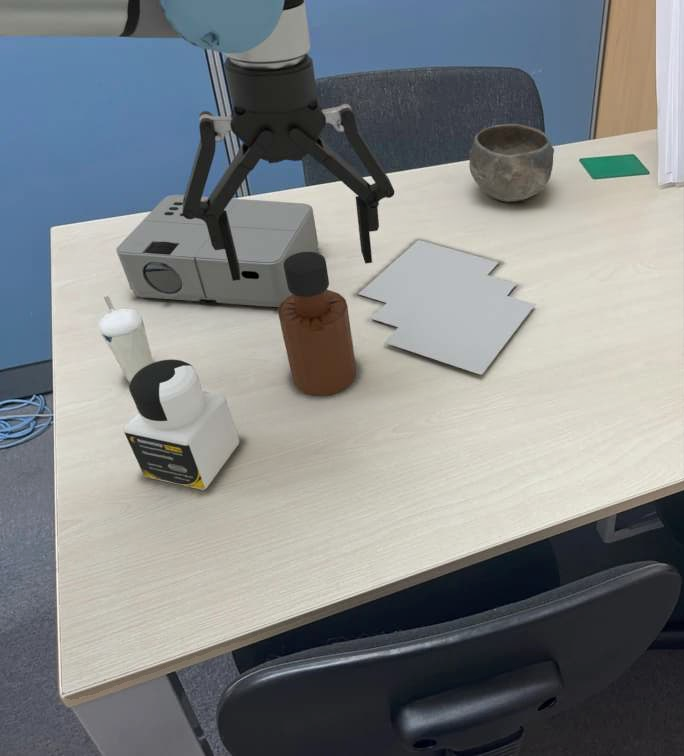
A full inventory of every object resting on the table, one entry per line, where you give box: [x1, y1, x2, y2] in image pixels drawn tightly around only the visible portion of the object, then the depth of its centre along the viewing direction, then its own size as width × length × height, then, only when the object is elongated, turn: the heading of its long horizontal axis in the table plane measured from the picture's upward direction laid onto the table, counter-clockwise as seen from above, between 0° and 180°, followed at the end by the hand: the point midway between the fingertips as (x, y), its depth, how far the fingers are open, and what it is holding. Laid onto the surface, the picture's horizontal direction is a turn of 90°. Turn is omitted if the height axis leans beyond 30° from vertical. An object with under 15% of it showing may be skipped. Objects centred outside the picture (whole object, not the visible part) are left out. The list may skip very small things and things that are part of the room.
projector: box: [116, 194, 319, 309], centre depth 100 cm, size 17×22×8 cm
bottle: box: [277, 289, 357, 397], centre depth 82 cm, size 8×8×13 cm
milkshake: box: [97, 294, 155, 384], centre depth 82 cm, size 4×5×10 cm
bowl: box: [468, 123, 555, 203], centre depth 121 cm, size 14×15×10 cm
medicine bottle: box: [123, 358, 240, 491], centre depth 71 cm, size 7×7×12 cm
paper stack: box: [358, 239, 536, 376], centre depth 98 cm, size 23×25×1 cm
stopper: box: [283, 252, 330, 297], centre depth 78 cm, size 4×4×7 cm
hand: (302, 265), depth 76 cm, fingers open, 13 cm apart
